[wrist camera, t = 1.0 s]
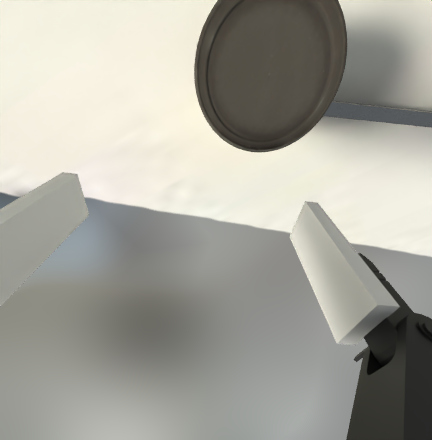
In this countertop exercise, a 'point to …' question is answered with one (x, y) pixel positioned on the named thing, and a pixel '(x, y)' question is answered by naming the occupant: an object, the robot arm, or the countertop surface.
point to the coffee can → (269, 69)
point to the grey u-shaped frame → (379, 114)
